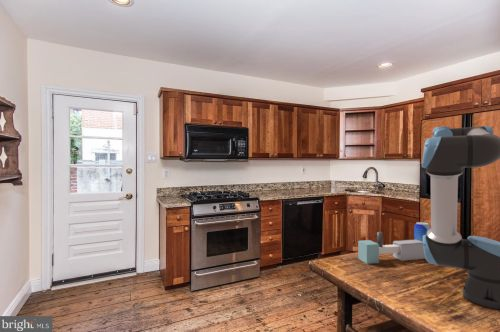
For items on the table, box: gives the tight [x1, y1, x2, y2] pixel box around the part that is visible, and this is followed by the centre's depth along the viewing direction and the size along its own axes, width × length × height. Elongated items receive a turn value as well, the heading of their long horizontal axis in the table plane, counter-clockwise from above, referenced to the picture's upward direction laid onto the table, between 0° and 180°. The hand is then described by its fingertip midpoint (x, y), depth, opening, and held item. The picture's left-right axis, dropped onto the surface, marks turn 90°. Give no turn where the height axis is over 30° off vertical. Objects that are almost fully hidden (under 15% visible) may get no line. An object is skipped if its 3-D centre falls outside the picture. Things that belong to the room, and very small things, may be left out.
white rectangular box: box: [392, 239, 426, 261], centre depth 152 cm, size 7×15×9 cm, turn 100°
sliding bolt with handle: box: [376, 231, 400, 255], centre depth 150 cm, size 4×24×11 cm, turn 100°
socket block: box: [357, 239, 380, 265], centre depth 148 cm, size 8×7×10 cm
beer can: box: [413, 221, 431, 242], centre depth 166 cm, size 8×8×16 cm
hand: (442, 202), depth 142 cm, fingers closed
